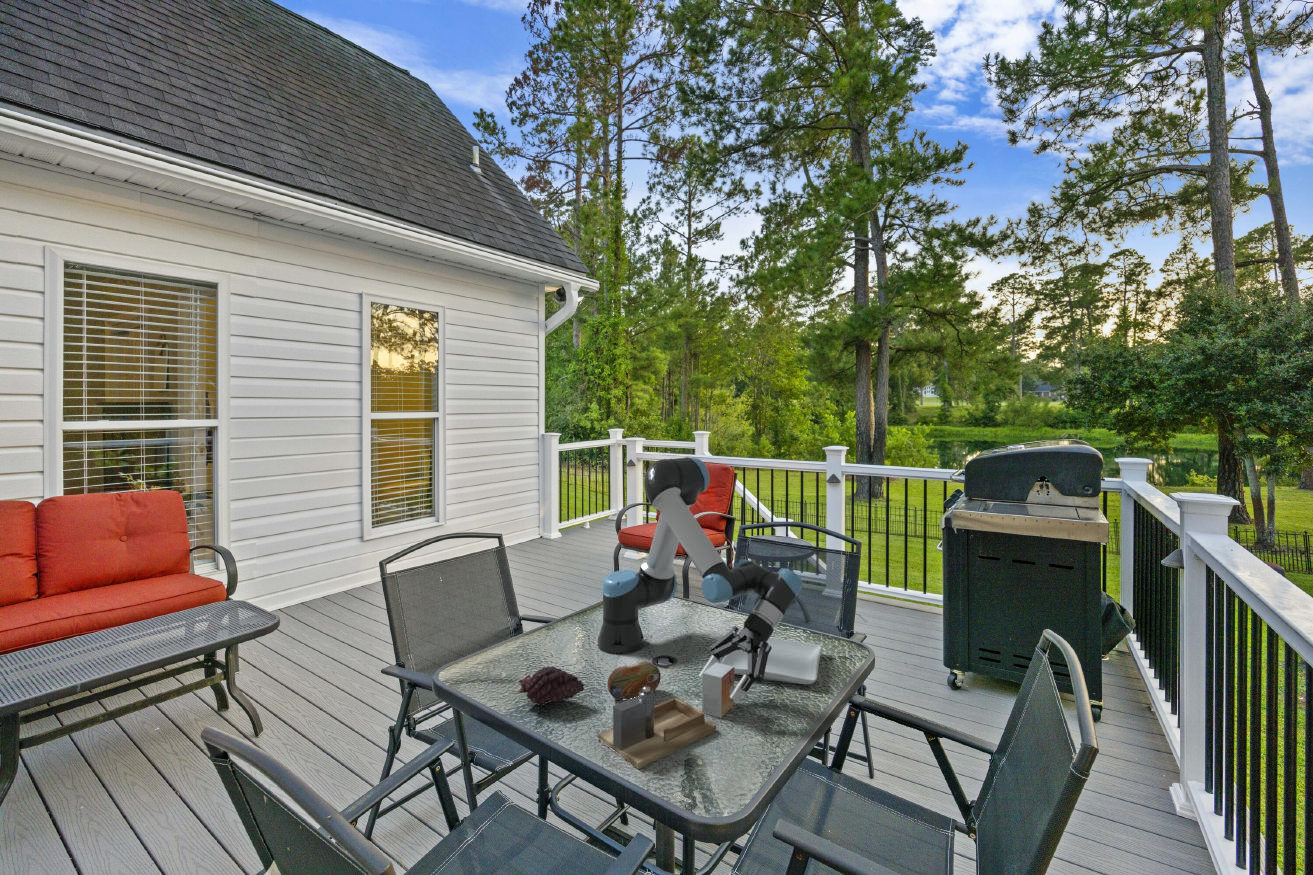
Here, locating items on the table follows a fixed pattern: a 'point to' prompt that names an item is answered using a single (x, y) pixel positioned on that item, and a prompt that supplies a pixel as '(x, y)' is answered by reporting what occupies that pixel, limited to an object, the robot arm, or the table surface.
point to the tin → (633, 680)
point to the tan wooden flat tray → (665, 733)
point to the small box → (717, 689)
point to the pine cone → (550, 685)
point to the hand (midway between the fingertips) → (717, 689)
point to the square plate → (783, 661)
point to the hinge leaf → (634, 720)
